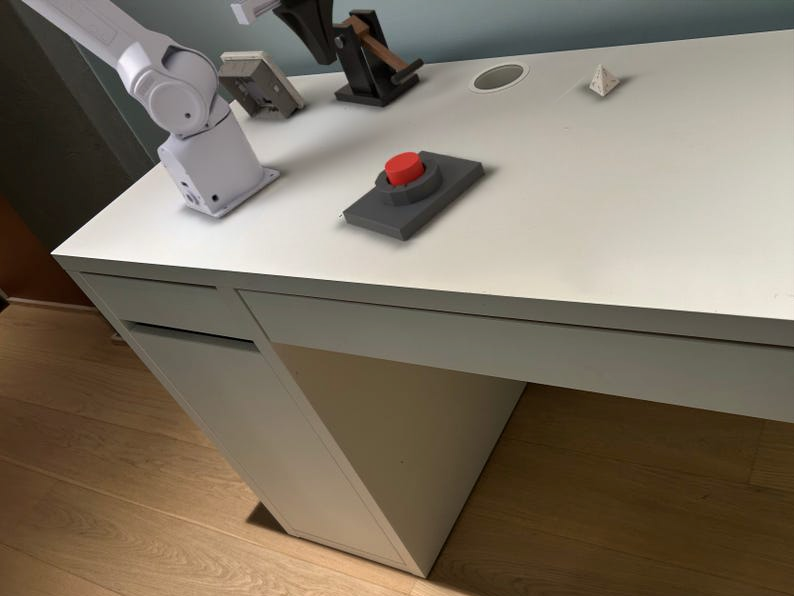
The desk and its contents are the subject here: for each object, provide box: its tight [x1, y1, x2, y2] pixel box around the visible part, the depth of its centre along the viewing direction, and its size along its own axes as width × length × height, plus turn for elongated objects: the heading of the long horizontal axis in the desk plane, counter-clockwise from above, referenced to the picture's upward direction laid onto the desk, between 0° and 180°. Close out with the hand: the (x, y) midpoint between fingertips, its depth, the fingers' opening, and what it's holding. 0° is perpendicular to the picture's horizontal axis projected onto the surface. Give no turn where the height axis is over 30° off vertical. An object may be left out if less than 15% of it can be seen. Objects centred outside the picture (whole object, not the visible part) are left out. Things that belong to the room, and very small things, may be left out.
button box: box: [341, 150, 485, 242], centre depth 73 cm, size 12×9×3 cm
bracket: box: [333, 8, 421, 108], centre depth 94 cm, size 10×7×10 cm
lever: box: [340, 15, 425, 85], centre depth 91 cm, size 11×5×2 cm, turn 48°
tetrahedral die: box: [588, 63, 621, 97], centre depth 80 cm, size 4×3×3 cm
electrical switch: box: [217, 50, 306, 120], centre depth 99 cm, size 9×5×9 cm, turn 57°
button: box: [384, 151, 424, 186], centre depth 72 cm, size 4×4×2 cm
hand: (328, 62), depth 79 cm, fingers closed
